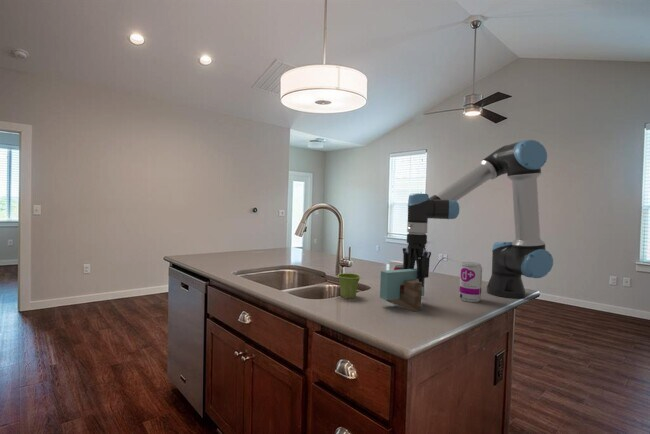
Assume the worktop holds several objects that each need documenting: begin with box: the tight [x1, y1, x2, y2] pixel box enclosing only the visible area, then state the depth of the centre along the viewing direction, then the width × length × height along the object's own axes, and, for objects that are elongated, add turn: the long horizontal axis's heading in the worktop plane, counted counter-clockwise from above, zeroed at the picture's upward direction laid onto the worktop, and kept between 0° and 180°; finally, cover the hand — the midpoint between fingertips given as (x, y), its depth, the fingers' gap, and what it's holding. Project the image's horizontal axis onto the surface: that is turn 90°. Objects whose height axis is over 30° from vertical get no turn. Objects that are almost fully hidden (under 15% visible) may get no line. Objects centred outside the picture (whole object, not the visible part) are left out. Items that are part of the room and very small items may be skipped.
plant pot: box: [337, 272, 362, 299], centre depth 141 cm, size 9×9×9 cm
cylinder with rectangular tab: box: [388, 260, 403, 270], centre depth 159 cm, size 9×9×12 cm
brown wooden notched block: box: [386, 280, 423, 312], centre depth 131 cm, size 4×16×10 cm, turn 28°
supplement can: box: [458, 261, 483, 303], centre depth 141 cm, size 8×8×15 cm
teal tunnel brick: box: [379, 267, 426, 301], centre depth 131 cm, size 18×4×10 cm, turn 117°
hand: (414, 293), depth 134 cm, fingers closed on teal tunnel brick, 4 cm apart
